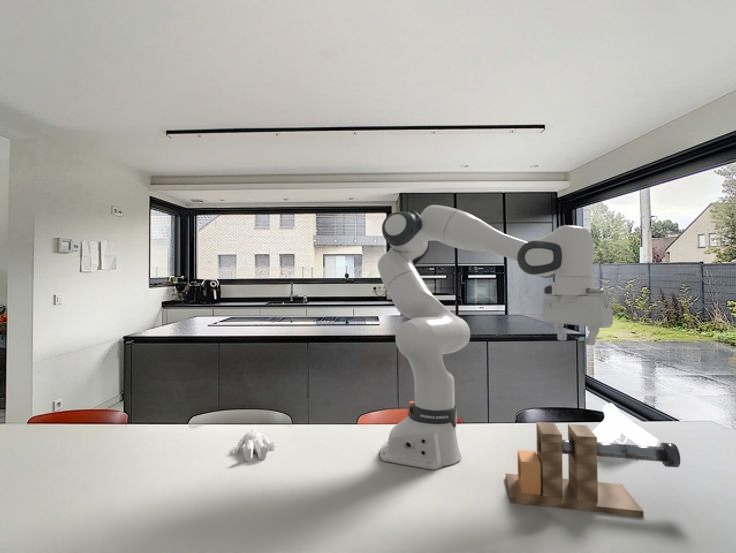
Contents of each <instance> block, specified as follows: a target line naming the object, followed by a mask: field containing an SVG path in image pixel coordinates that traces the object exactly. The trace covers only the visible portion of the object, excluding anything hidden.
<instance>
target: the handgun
mask: <svg viewBox="0 0 736 553" xmlns="http://www.w3.org/2000/svg"><path fill="white" fill-rule="evenodd" d="M602 412H603V415H604V418H603V420H602V421H601V422H600V423H599V424H597V426H596V427H594V428H593V430H591V431H592V432H593V433H594V434H595V436H596V437H597V442H601V443H614V441H616V442H617V443H618V444H626V442H627V441H628V440H630V441H632V442H633V443H635V445H642V446H655V447H657V445H658V443H659V441H660V440H659V439H658V438H657V437H656V436H654V435H652V434H651V433H650V432H648V431H646V430H645V429H644V428H643V427H641V426H639V425H638V424H636V423H635V422H633V420H632V419H631V418H629V417H628V416H626V415H625V414H624V413H621V412H620V411H619V408H617V406H616V405H615V404H614V403H612V402H610V403H606V404H605V405H604V406H603V407H602ZM621 435H623V436H625V439H624V441H623V442H621V441H620V439H621ZM618 439H619V440H618Z"/></svg>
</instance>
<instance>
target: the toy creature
mask: <svg viewBox="0 0 736 553" xmlns="http://www.w3.org/2000/svg"><path fill="white" fill-rule="evenodd" d="M274 444H275V442H274V441H273V442H270V440H269V439H268V437H267V436H266V435H264V434H263V433H261V432H259V431H257V430H255V429H251V430H250V431H248V432H247V433H245V434H244V436H242V437H241V438H240V439H239V441H238V442H237V445H236V446H234V447H232V449H233V450H232V452H231V453H232V455H235V456H237V455H238V453H239V451H240V449H241V448H242V447H243V446H244V445H245V446H244V447H243V448H242V454H243V456H244V457H243V460H244V461H245V462H247V463H250V462H252V460H253V456H254V454H253V453H254V452H255V453H256V454H257V456H258V459H259V461H264V460H265V459H266V458H267V456H268V452H269V449H270V451H271V452H272V451H273V450H275V448H276V445H274Z"/></svg>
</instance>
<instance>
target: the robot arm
mask: <svg viewBox="0 0 736 553" xmlns="http://www.w3.org/2000/svg"><path fill="white" fill-rule="evenodd" d="M381 233H382V236H383V238H384V240H385V241H386V242H387V243H388V245H389V246H390V248H389V250H388V251H387V252H385V253H383V254H382V256H380V258H379V260H378V262H377V269H378V272H379V273H378V274H379V276H380V279H381V281H382V283H383V286H384V288H385V290H386V291H387V293H388V294H387V295H388V296H389V297H390V299H391V300H392V303H393V305H394V306H395V308H396V310H397V311H398V313H399V314H401V315H402V316H404V317H406V318H408V320H406V321H404V322H402V323H401V324H399V325H398V327H397V329H396V333H395V343H396V344H395V345H396V347H397V349H398V350H399V352H400V353H401V354H402V355H403V356H404V357H405V358H406V359H407V361H408V363H409V365H410V368H411V371H412V374H413V381H414V384H413V385H414V400H410V401H409V402H408V403H407V416H406V417H405V418H404V419H402V420H400V421H399V422H398V423H397V424H395V425H394V426H393V427H392V428H391V430H390V433H389V435H388V439H387V441H386V442H384V443H383V444H382V446H381V448H380V451H379V458H380V459H381V460H382V461H383V462H389V463H392V464H393V463H394V464H399V465H406V466H409V467H416V468H422V469H427V470H434V471H435V470H439V469H440V468H442V467H445V466H451V465H454V464H456V463H458V462H459V461H460V460H461V459H462V455H461V451H460V448H459V444H458V438H457V430H456V429H457V422H458V421H457V420H458V419H457V418H458V417H457V416H458V413H457V412H458V410H457V406H456V404H455V399H456V398H455V378H454V375H453V374H452V373H451V372H449V370H447V368H446V366H445V363H444V358H443V355H448V354H453V353H456V352H458V351H460V350H462V349H463V348H465V347H466V346H467V345H468V344H469V342H470V340H471V339H470V338H471V329H470V327H469V325H468V323H467V321H465V319H463V318H461V317H459V316H457V315H456V314H454V313H453V312H452V311H450V310H449V309H448V308H447V307H446V306H445V305H444V304H443V303H441V302H440V301H439V299H438V298H437V297H436V296H435V294H434V295H433V293H432V292H431V291H430V289H429V287H428V285H427V284H426V282H425V280H423V278H422V276H421V275H420V273H419V272H418V269H416V265H417V264H418V263H419V262H421V261H422V260H423V259H425V257H426V256H427V255H428V254H429V252H430V248H431V247H430V246H431V243H430V242H431V241H432V242H433V241H435V242H439V243H441V244H444V245H446V246H448V247H452V248H456V249H460V250H463V251H464V250H465V251H473V252H485V253H492V254H495V255H496V254H497V255H499V256H502V257H505V258H508V259H510V260H513V261H514V262H517V264H518V267H519V268H520V270H522V272H524V273H526V275H527V274H528V275H530V276H534V277H540V278H543V279H550V278H554V277H555V281H553V282H551V283H549V284H547V285H544V286H542V289H541V291H542V292H541V293H542V295H544V296H543V297H542V318H543V320H544V321H545V323H546V322H548V323H553V328H554V329H555V331H556V334H557V335H556V336H557V340H558V341H566V340H568V338H567V336H568V335H567V333H565V331H564V326H565V325H573V326H580V327H581V326H582V327H587V331H588V332H589V333H588V336H587V337H584V344H585V345H588V346H595V345H596V338H597V336H598V334H599V332H600V329H602V328H603V329H605V328H606V329H607V328H611V327H612V326H613V324H614V318H613V309H612V304H611V300H610V294H609V292H607V291H606V290H605V289H604V288H595V274H594V271H593V264H594V262H595V260H594V259H595V252H594V240H593V236H592V233H591V231H590V230H589V229H587V228H586V227H583V226H578V225H569V224H568V225H567V224H564V225H560V226H558V227H557V228H556V229H555V230H553V231H551V232H550V233H548V234H546V235H545V236H542V237H539V238H536V239H532V240H530V241H525V240H523V239H519V238H516V237H514V236H511V235H508V234H505V233H503V232H502V231H499V230H497V229H496V228H494V227H493V226H491V225H489V223H487V222H485V221H483V220H481V219H480V218H478V217H476V215H475V216H474V215H473V214H471V213H469V212H466V211H464V210H460V209H457V208H454V207H450V206H445V205H441V204H440V205H438V204H431V205H428V206H427V207H426V208H424V209H423V211H422V212H421V214H419V213H418V212H417V211H414V210H412V211H411V210H410V211H395V212H392V213H390V214H388V216H386V217H385V219H384V220H383V222H382V224H381Z"/></svg>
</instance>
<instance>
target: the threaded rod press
mask: <svg viewBox="0 0 736 553" xmlns="http://www.w3.org/2000/svg"><path fill="white" fill-rule="evenodd" d="M592 431H593V430H591V429H590V428H589V426H588V425H586V424H575V423H572V424H571V423H568V424H567V440H574V441H575V455H572V454H567V456H568V457H567V459H568V462H567V463H568V464H567V465H568V478H563V454H562V440H563V434H562V433H561V431H560V430H559V428H558V426H557V425H556V423H554V422H545V421H544V422H542V421H536V454H537V456H538V459H539V461H540V470H541V495H536V494H526V493H522V492H521V489H520V485H519V481H518V473H517V474H514V473H507V472H506V473H505V481H506V482H505V483H506V486H507V489H508V490H507V491H508V495H509V500H510V503H511V504H518V505H519V504H520V505H530V506H536V507H537V506H538V507H547V508H556V509H565V510H574V511H583V512H584V511H585V512H593V513H603V514H610V515H611V514H612V515H620V516H630V517H638V518H644V516H645V515H644V510H643V508H642V507H641V506H640V505H639V504H638V503H637V501H636V500H635V499H634V497H633V496H632V494H631V493H629V491H628V490H627V488H626V486H624V484H622V483H612V482H605V481H603V482H601V481H598V480H599V479H598V473H599V472H598V457H597V437H596V436H595V434H594V433H593V432H592Z"/></svg>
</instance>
